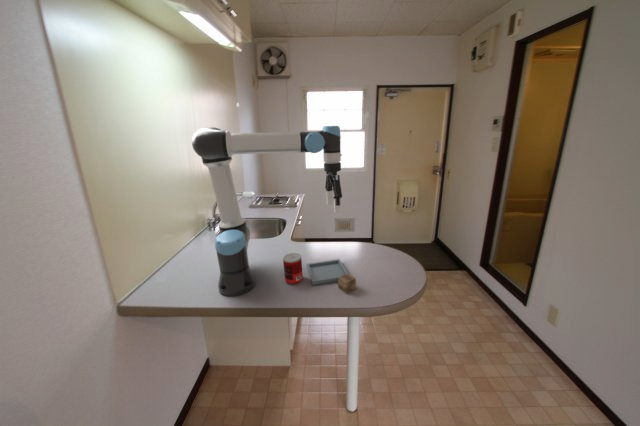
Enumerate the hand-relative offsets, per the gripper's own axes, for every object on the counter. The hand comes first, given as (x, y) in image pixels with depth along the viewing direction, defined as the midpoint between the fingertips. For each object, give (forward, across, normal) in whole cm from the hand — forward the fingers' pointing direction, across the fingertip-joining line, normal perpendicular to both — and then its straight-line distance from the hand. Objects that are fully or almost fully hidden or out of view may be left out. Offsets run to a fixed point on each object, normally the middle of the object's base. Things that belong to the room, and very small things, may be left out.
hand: (333, 208), depth 129 cm
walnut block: (+26, -27, +2) cm, 38 cm away
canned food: (+27, -13, +22) cm, 37 cm away
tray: (+26, -13, +7) cm, 30 cm away
